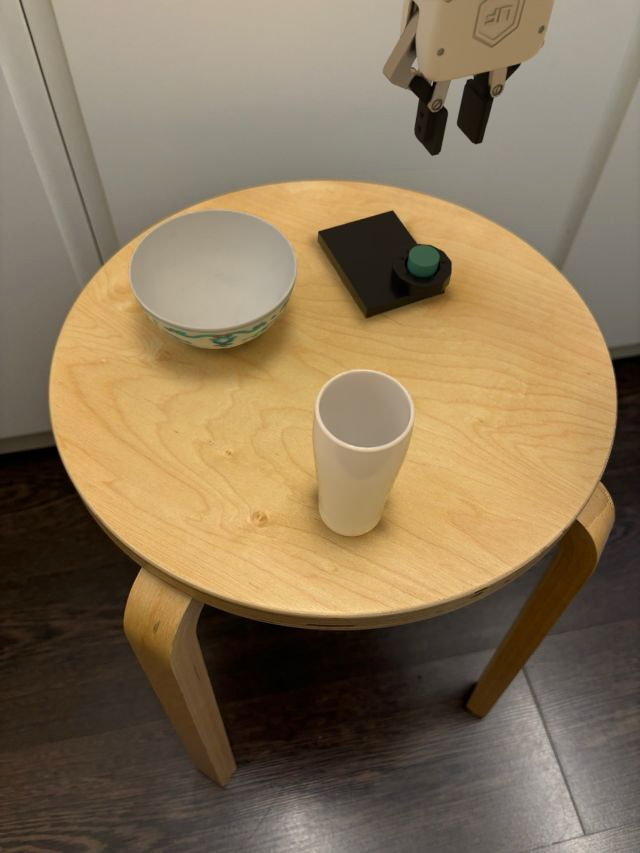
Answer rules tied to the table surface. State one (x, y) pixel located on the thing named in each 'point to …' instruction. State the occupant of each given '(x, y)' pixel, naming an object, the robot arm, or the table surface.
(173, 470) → the table surface
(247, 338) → the chinaware
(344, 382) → the white tall cup
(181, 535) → the table surface
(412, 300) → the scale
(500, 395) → the table surface
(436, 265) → the tare button
